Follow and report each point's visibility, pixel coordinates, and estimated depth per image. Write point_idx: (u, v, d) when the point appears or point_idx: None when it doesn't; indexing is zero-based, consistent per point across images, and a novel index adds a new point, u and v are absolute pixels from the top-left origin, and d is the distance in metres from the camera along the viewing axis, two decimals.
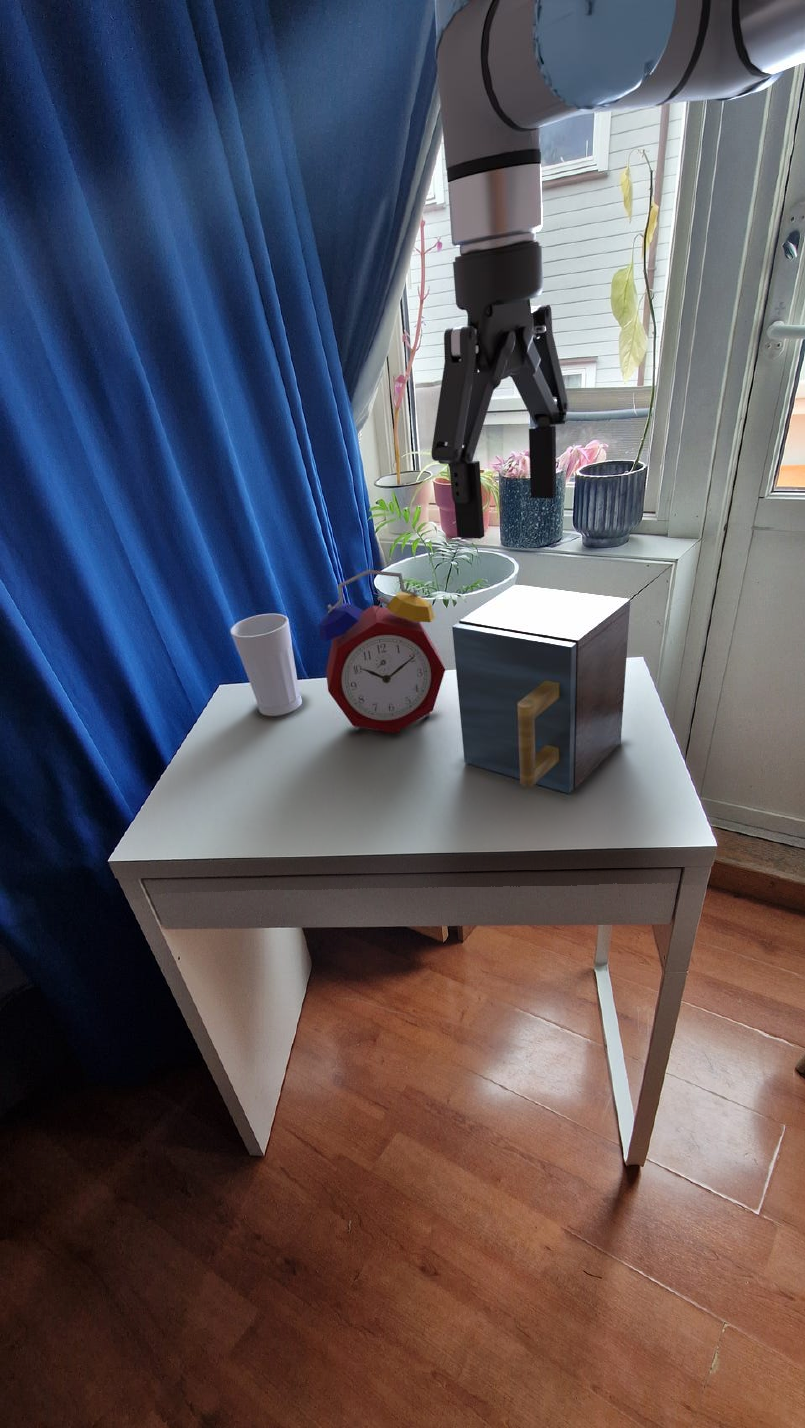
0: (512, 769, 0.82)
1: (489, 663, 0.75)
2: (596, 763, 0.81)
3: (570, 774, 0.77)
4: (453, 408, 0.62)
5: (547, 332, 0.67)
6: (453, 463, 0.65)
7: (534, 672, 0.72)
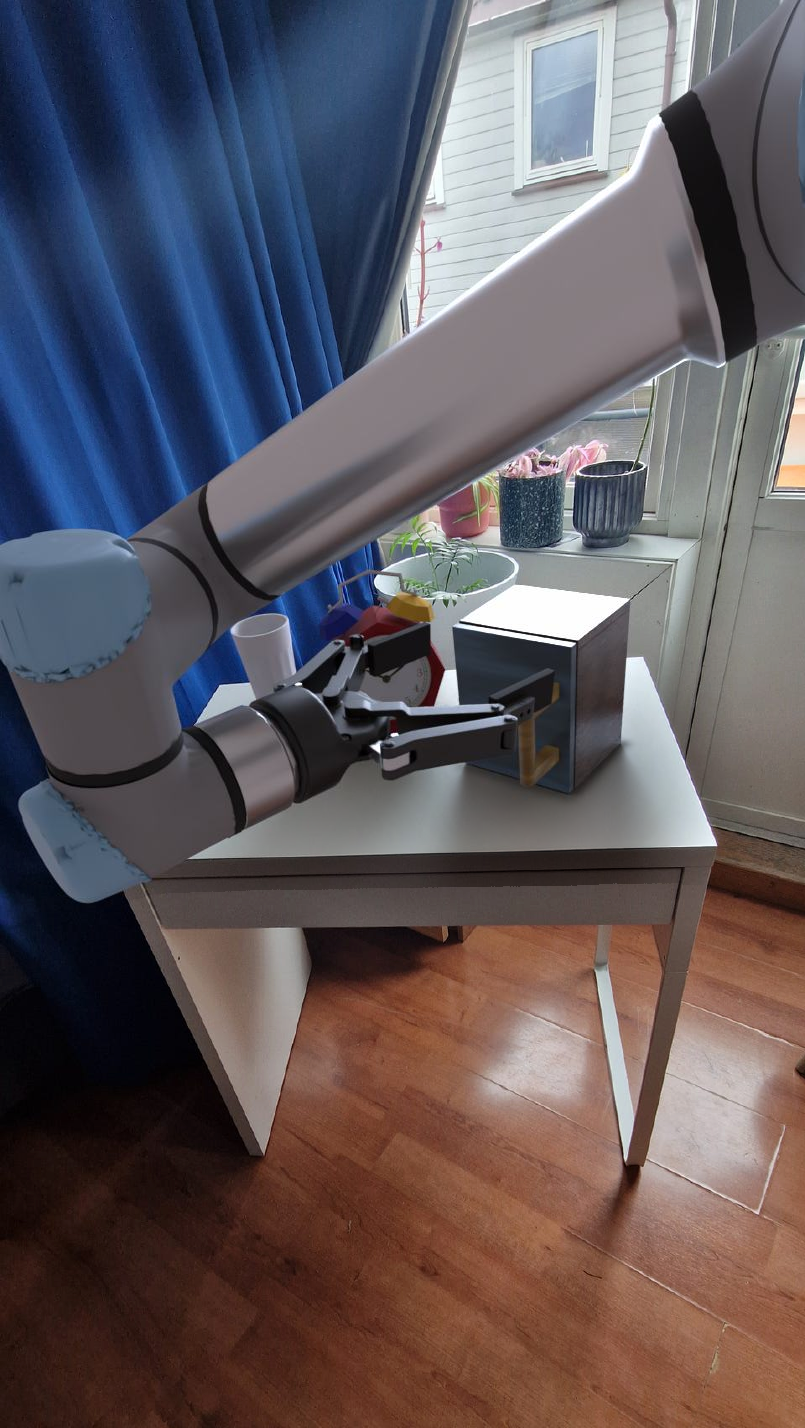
0: (512, 769, 0.82)
1: (489, 663, 0.75)
2: (596, 763, 0.81)
3: (570, 774, 0.77)
4: (465, 740, 0.48)
5: (297, 680, 0.55)
6: None
7: (534, 672, 0.72)
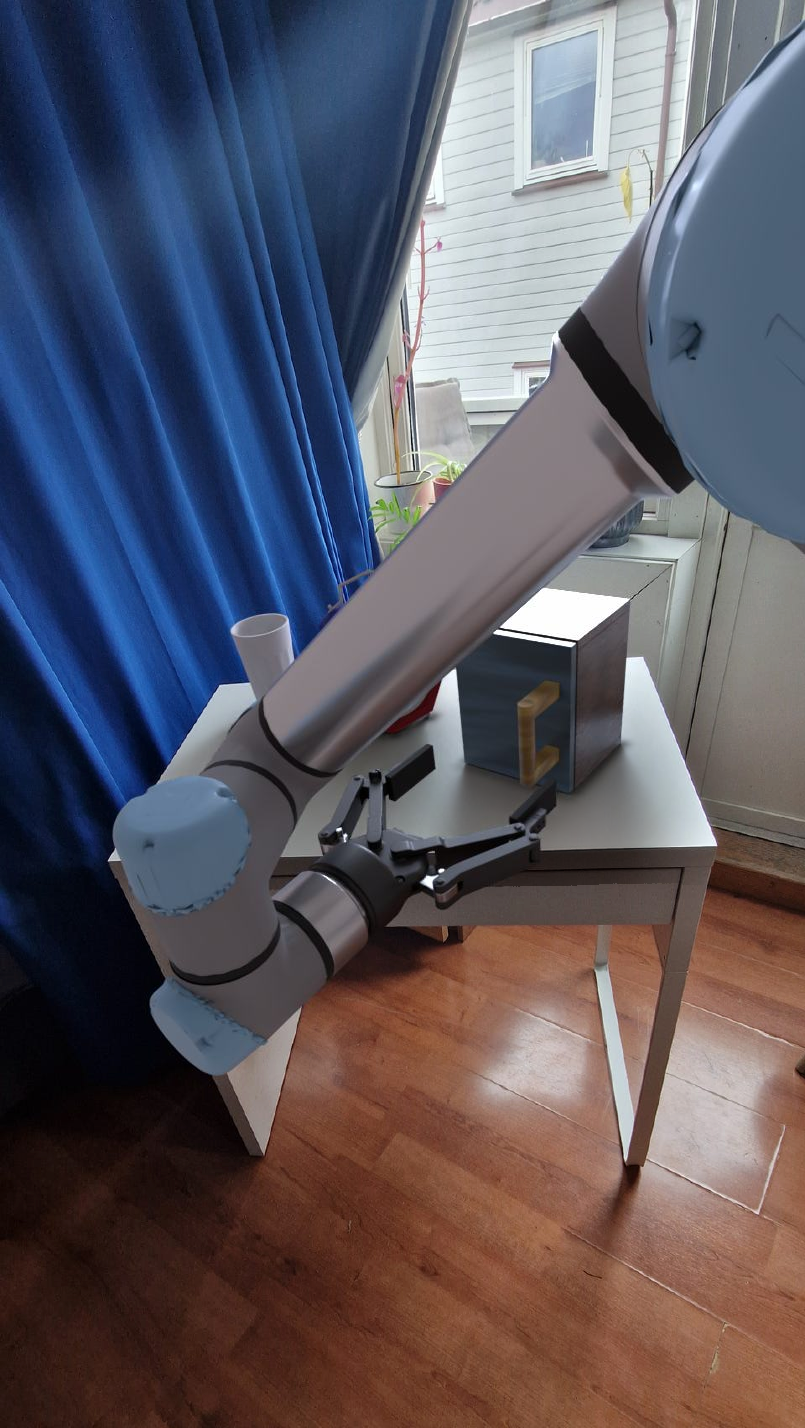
0: (512, 769, 0.82)
1: (489, 663, 0.75)
2: (596, 763, 0.81)
3: (570, 774, 0.77)
4: (501, 863, 0.56)
5: (336, 825, 0.62)
6: None
7: (534, 672, 0.72)
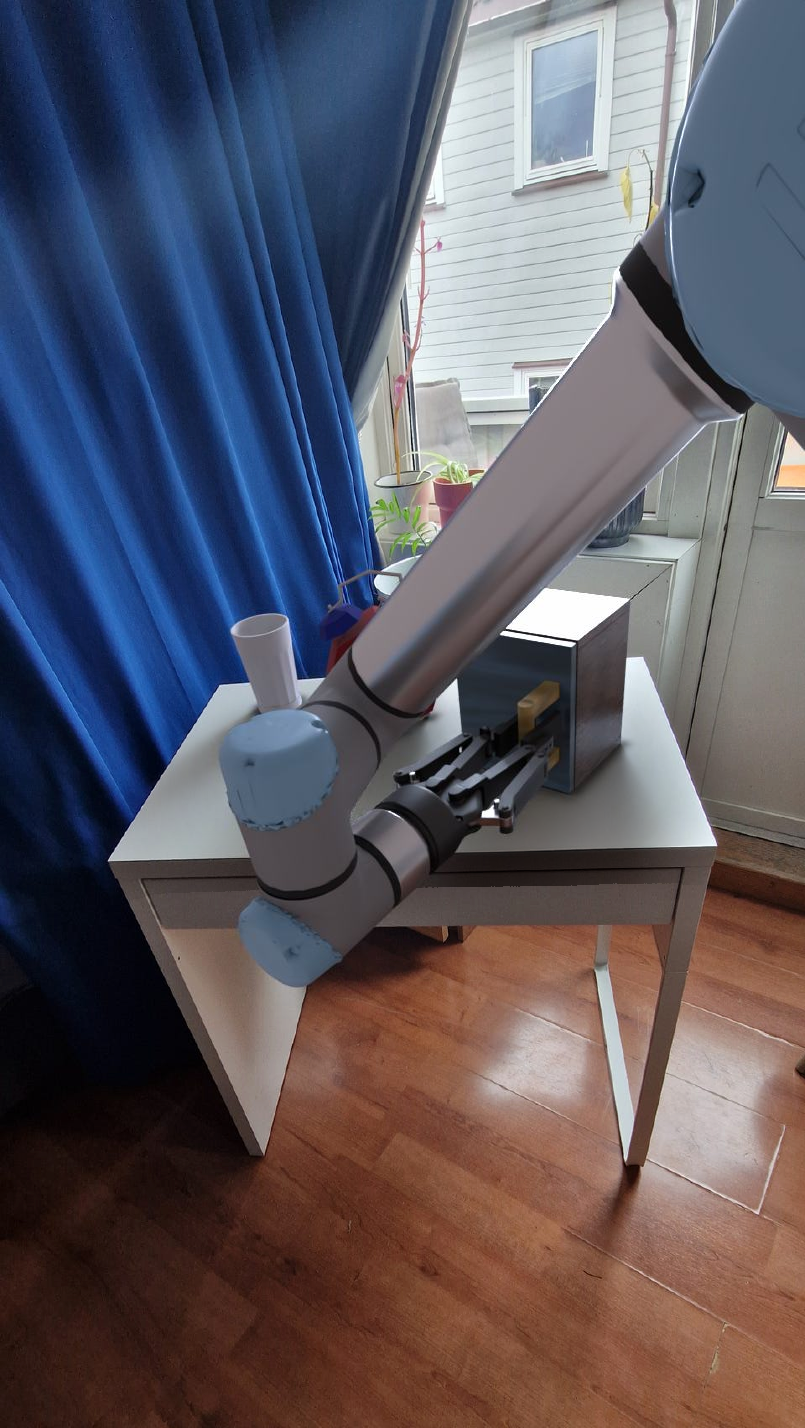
0: None
1: (489, 663, 0.75)
2: (596, 763, 0.81)
3: (570, 774, 0.77)
4: (532, 781, 0.64)
5: (413, 769, 0.67)
6: None
7: (534, 672, 0.72)
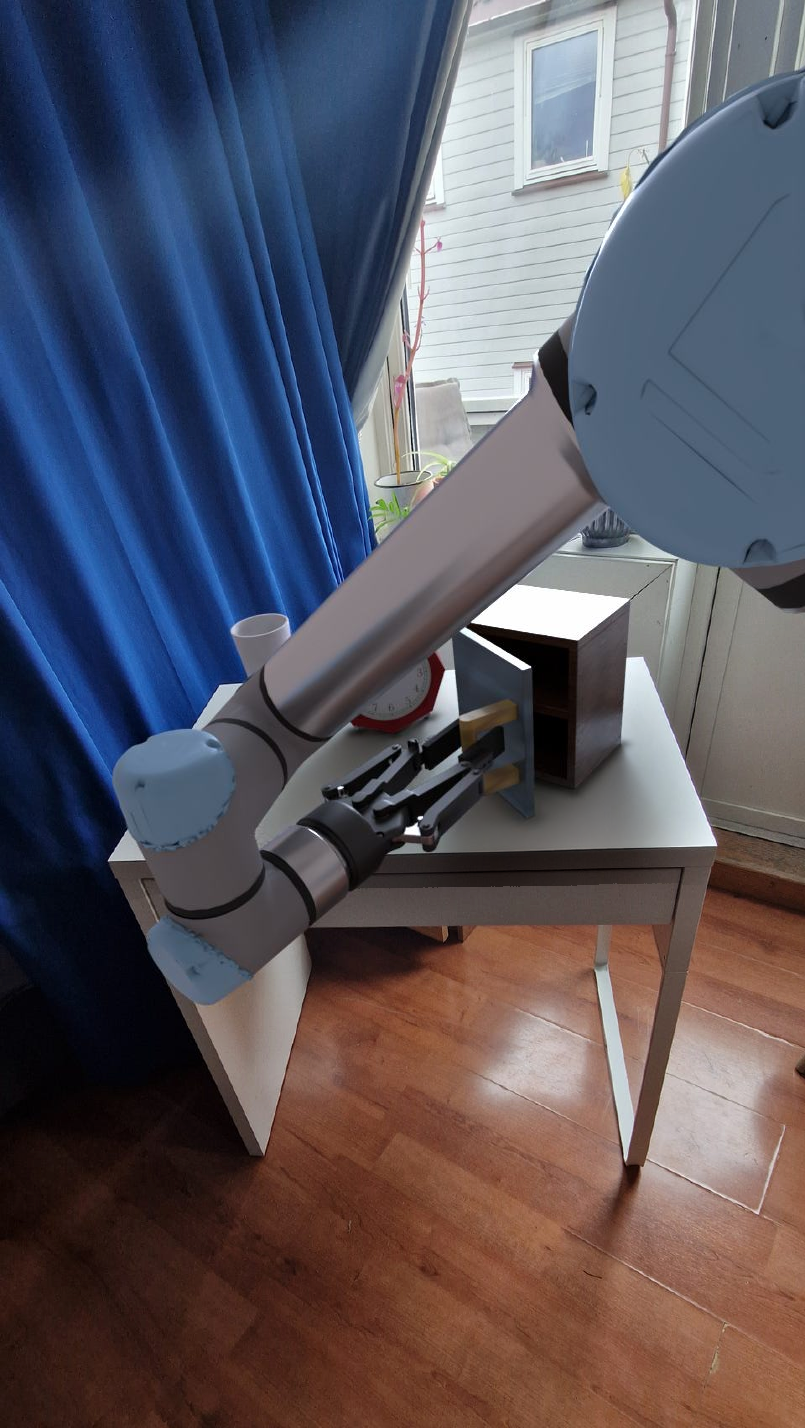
0: None
1: (473, 669, 0.74)
2: (596, 763, 0.81)
3: (529, 799, 0.75)
4: (462, 799, 0.64)
5: (341, 784, 0.67)
6: None
7: (501, 688, 0.70)
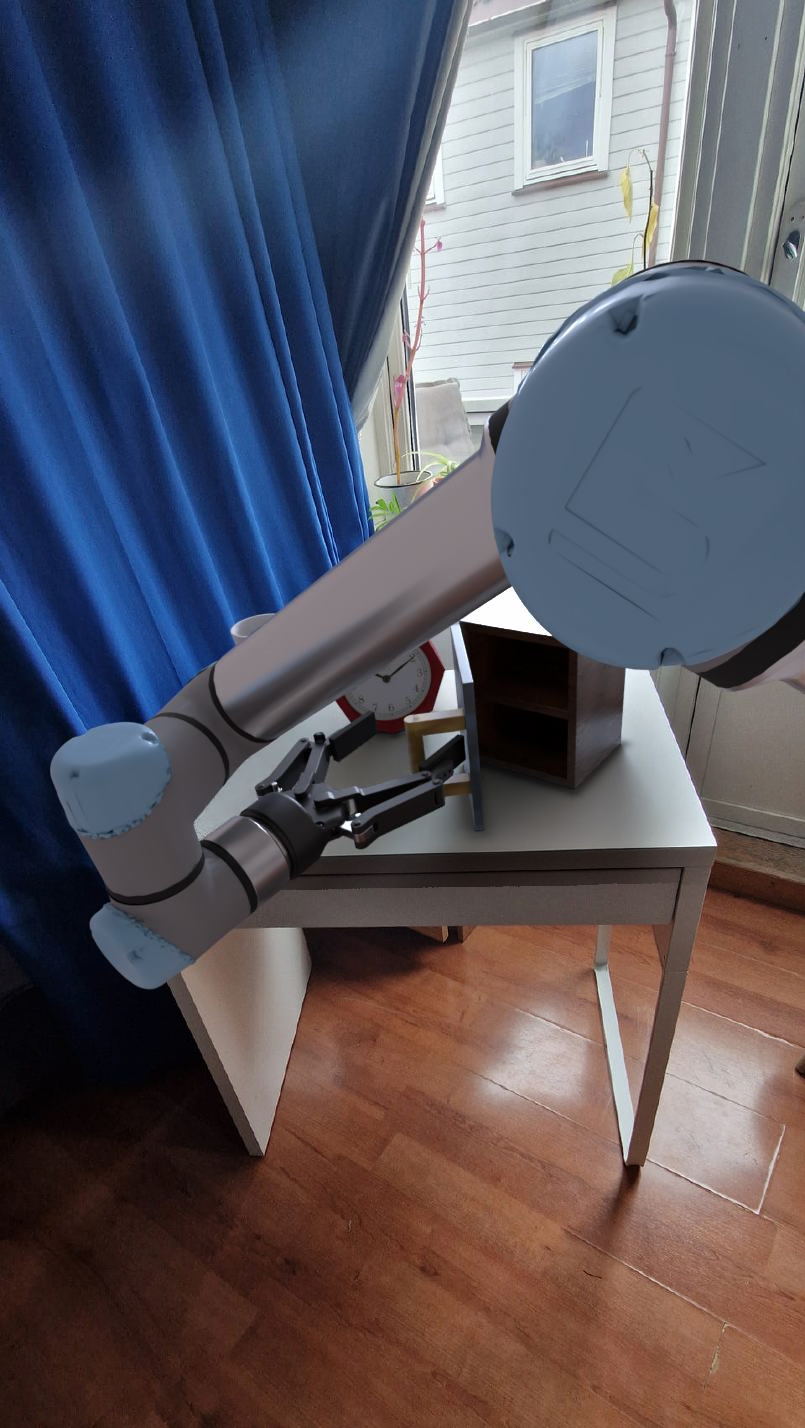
0: None
1: (456, 673, 0.74)
2: (596, 763, 0.81)
3: (476, 812, 0.74)
4: (410, 805, 0.64)
5: (273, 780, 0.69)
6: None
7: (461, 696, 0.70)
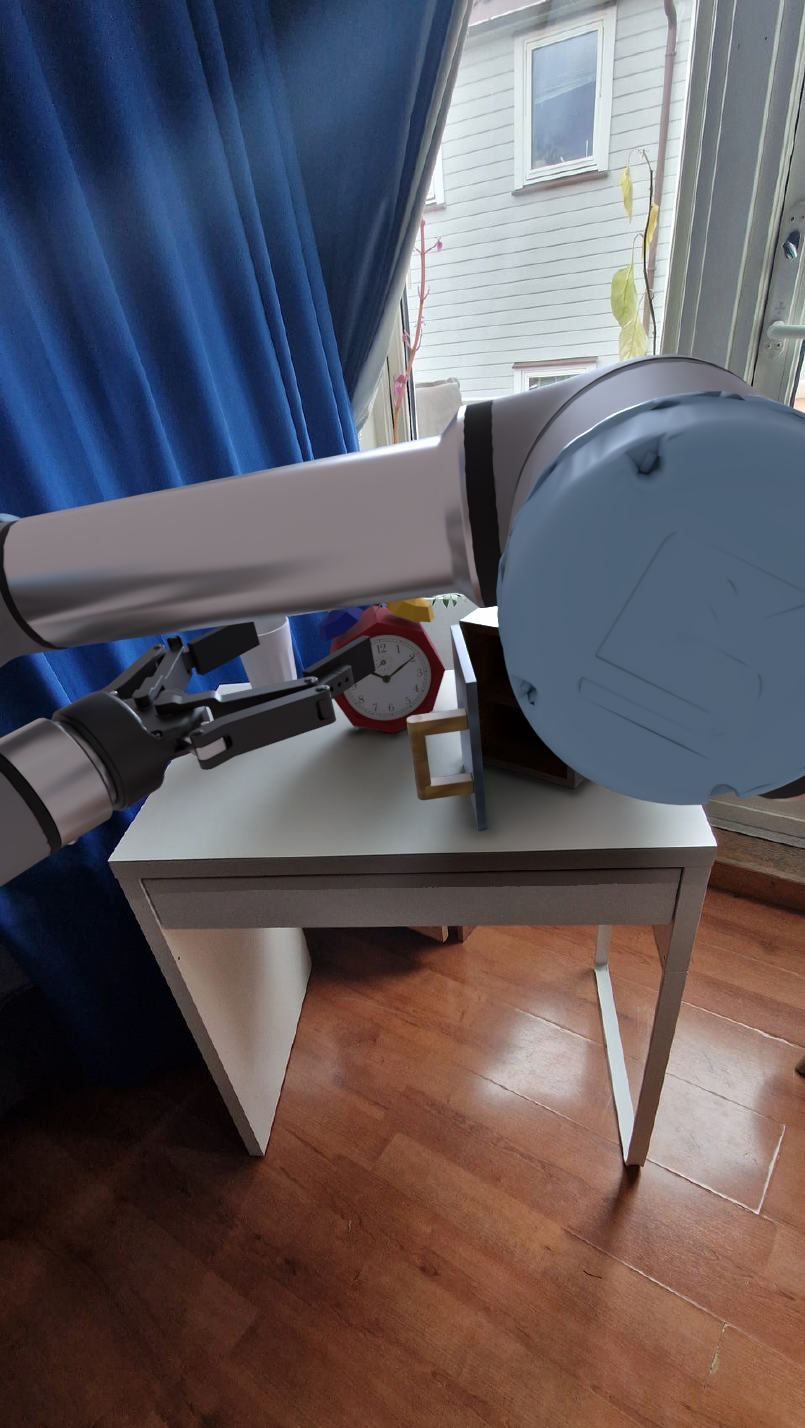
0: None
1: (457, 673, 0.74)
2: None
3: (479, 811, 0.74)
4: (279, 716, 0.48)
5: (112, 689, 0.54)
6: None
7: (463, 696, 0.70)
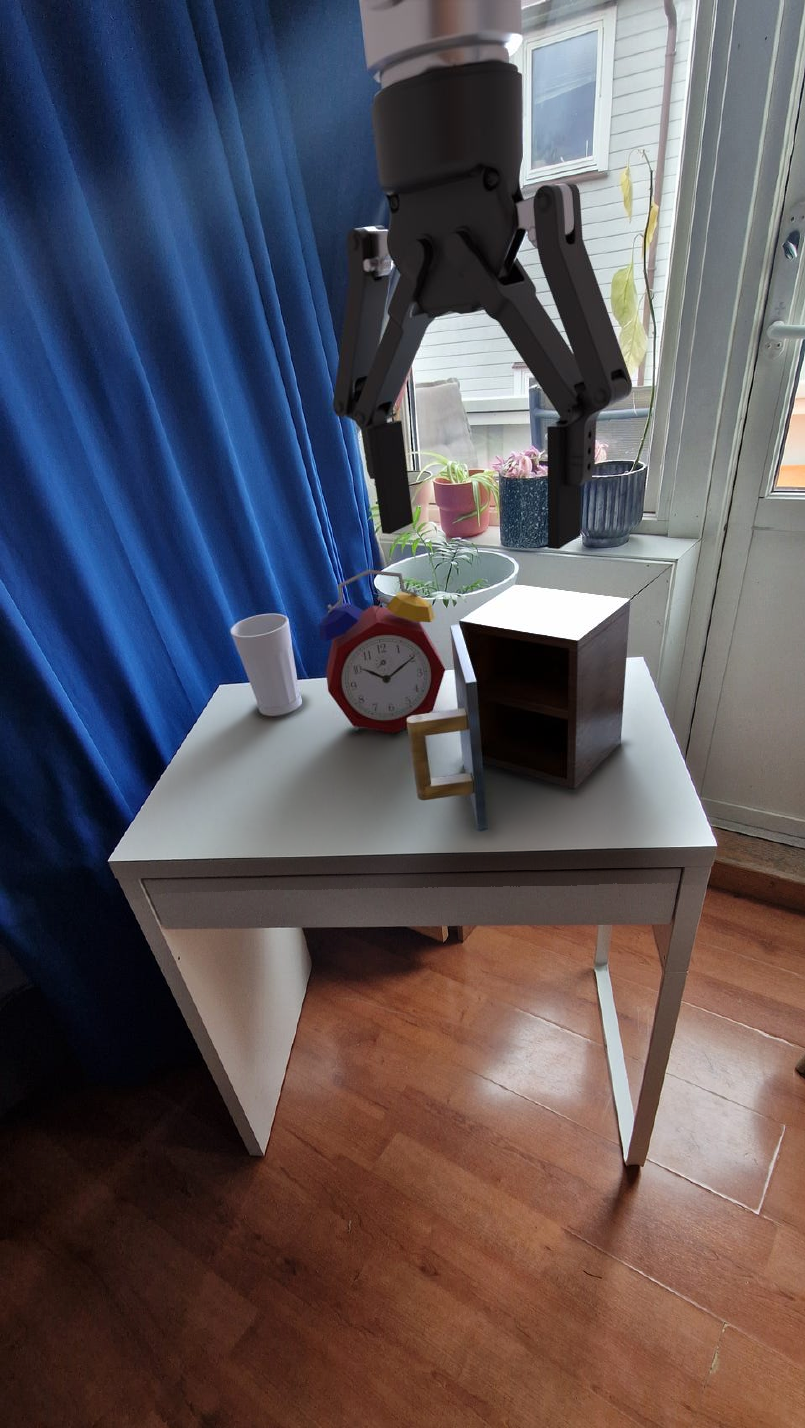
0: None
1: (457, 673, 0.74)
2: (596, 763, 0.81)
3: (479, 811, 0.74)
4: (602, 316, 0.37)
5: None
6: (595, 413, 0.40)
7: (463, 696, 0.70)
